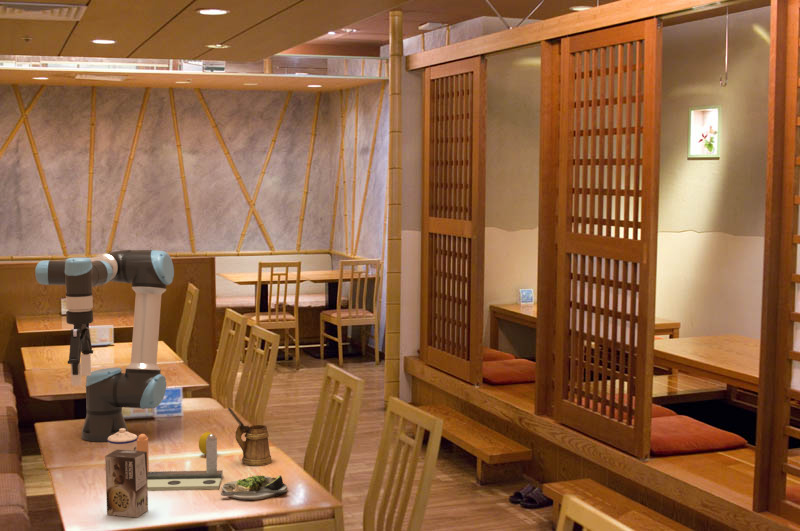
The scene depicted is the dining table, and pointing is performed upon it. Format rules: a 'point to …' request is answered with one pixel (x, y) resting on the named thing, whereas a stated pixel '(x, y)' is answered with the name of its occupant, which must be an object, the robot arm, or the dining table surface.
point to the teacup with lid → (122, 441)
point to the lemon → (203, 442)
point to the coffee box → (126, 483)
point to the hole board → (183, 484)
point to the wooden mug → (253, 443)
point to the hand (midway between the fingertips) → (81, 380)
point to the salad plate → (254, 488)
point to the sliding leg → (143, 446)
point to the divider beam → (208, 474)
